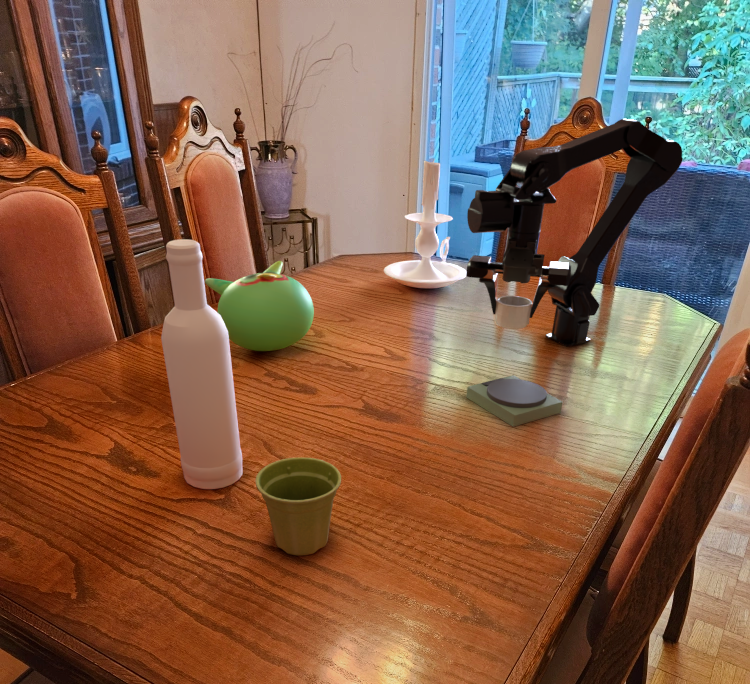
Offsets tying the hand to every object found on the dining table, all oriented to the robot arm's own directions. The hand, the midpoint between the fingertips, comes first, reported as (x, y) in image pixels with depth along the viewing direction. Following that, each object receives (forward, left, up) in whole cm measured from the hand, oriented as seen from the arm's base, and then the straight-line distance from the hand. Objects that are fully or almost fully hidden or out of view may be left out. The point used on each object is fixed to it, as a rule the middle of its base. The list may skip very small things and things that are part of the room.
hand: (512, 315), depth 128 cm
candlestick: (-44, +11, -6) cm, 46 cm away
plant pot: (+37, -63, -6) cm, 73 cm away
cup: (0, 0, -2) cm, 2 cm away
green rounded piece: (-22, -42, -6) cm, 48 cm away
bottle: (+18, -67, -6) cm, 70 cm away
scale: (+21, -17, -6) cm, 28 cm away
